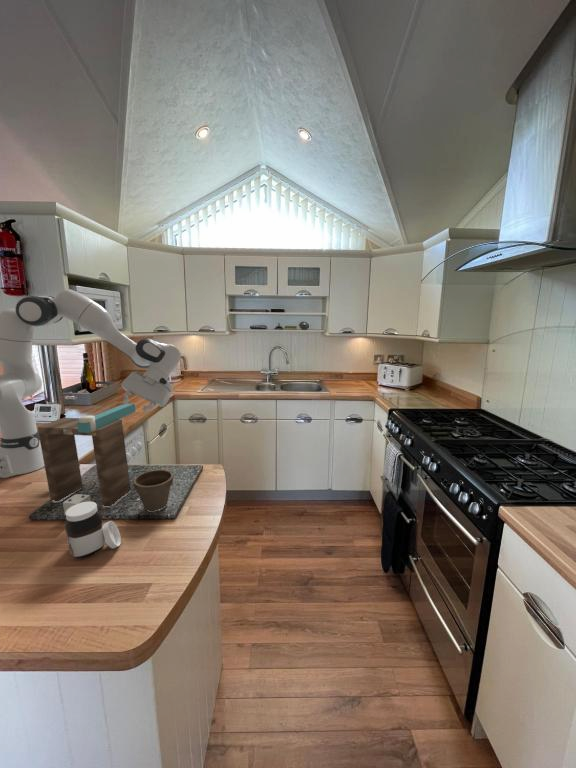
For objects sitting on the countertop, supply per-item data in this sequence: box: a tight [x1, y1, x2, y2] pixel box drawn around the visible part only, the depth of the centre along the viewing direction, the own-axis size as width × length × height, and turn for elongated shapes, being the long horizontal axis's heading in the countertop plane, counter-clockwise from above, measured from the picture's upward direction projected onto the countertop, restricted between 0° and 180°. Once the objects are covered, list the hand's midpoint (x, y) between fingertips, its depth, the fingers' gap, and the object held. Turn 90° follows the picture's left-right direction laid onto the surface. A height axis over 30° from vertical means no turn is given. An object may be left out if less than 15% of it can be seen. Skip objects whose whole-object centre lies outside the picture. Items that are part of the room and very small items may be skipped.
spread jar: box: [64, 501, 122, 560], centre depth 86 cm, size 12×11×12 cm
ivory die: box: [62, 493, 92, 514], centre depth 103 cm, size 5×5×5 cm
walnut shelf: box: [37, 417, 132, 506], centre depth 110 cm, size 22×10×26 cm, turn 80°
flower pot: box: [133, 469, 174, 511], centre depth 105 cm, size 12×11×10 cm
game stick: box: [77, 402, 136, 433], centre depth 108 cm, size 4×22×4 cm, turn 170°
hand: (134, 406), depth 134 cm, fingers open, 8 cm apart
